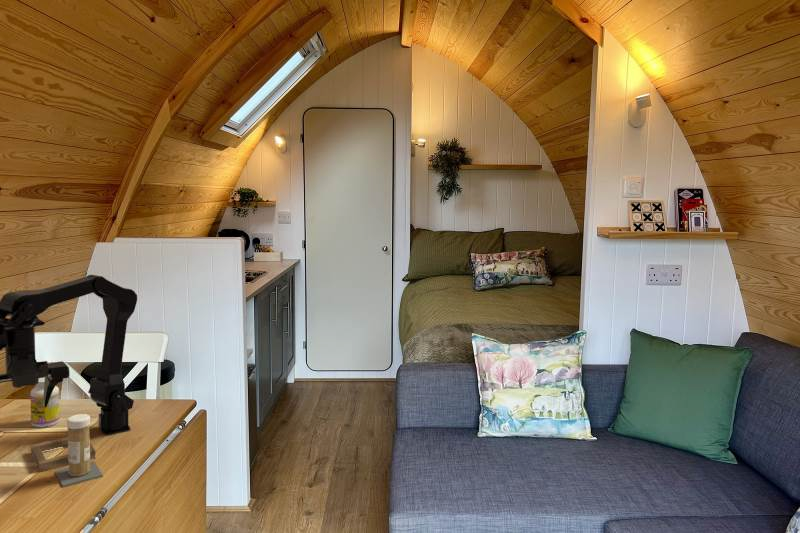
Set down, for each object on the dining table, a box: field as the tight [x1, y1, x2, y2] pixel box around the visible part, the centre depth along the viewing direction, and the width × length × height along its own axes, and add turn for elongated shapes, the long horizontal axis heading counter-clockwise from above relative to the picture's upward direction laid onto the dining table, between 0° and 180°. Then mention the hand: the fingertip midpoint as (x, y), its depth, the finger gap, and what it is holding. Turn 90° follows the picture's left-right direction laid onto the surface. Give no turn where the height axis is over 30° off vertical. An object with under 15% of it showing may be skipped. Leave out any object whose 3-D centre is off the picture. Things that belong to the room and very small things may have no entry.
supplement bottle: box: [29, 377, 60, 428], centre depth 150 cm, size 7×7×13 cm
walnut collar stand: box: [30, 436, 96, 473], centre depth 134 cm, size 12×12×2 cm
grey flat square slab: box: [55, 460, 104, 488], centre depth 126 cm, size 8×8×1 cm
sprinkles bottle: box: [66, 413, 91, 477], centre depth 125 cm, size 5×5×13 cm
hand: (22, 410), depth 128 cm, fingers open, 9 cm apart
